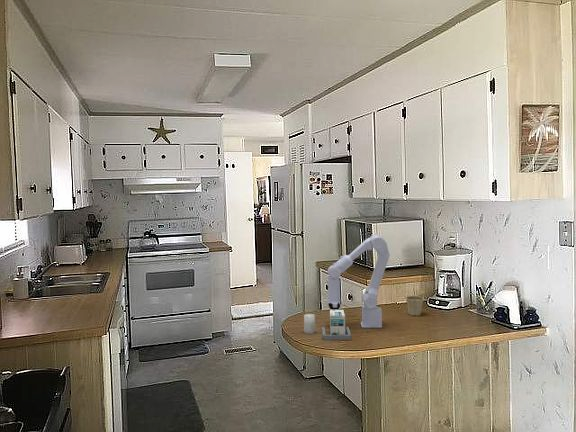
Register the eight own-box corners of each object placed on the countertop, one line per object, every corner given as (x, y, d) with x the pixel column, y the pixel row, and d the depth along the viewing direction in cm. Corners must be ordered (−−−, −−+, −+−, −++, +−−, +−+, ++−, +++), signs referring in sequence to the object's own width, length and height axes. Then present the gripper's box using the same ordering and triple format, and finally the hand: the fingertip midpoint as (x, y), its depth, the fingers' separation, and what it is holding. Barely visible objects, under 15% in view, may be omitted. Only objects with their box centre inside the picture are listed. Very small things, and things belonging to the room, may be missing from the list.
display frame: (348, 331, 236) (348, 327, 235) (351, 340, 223) (351, 335, 223) (322, 331, 236) (322, 327, 236) (322, 340, 223) (322, 335, 223)
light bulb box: (345, 339, 224) (345, 315, 223) (330, 339, 225) (330, 315, 224) (344, 331, 235) (344, 309, 234) (329, 331, 235) (329, 309, 234)
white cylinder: (314, 330, 238) (314, 313, 237) (315, 333, 233) (314, 316, 232) (304, 330, 238) (304, 313, 237) (304, 333, 233) (304, 316, 232)
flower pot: (426, 313, 265) (426, 297, 264) (420, 317, 257) (421, 301, 256) (409, 311, 270) (409, 295, 269) (403, 315, 262) (403, 298, 261)
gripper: (325, 287, 251) (325, 314, 252) (326, 294, 236) (326, 322, 237) (339, 287, 251) (339, 314, 252) (341, 294, 236) (341, 322, 237)
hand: (334, 318), depth 244 cm, fingers closed
